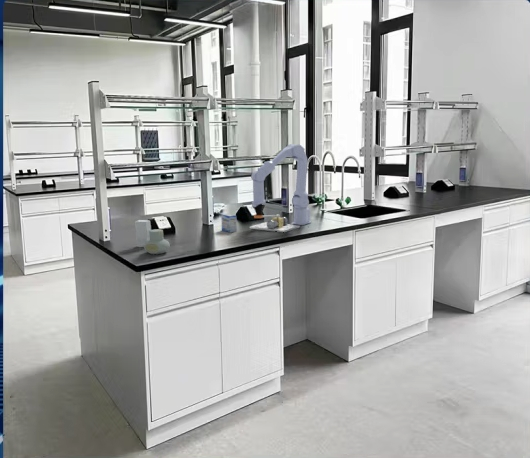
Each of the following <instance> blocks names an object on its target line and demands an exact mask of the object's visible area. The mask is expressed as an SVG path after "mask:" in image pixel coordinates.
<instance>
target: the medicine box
mask: <svg viewBox="0 0 530 458" xmlns="http://www.w3.org/2000/svg"><path fill="white" fill-rule="evenodd" d="M220 215H221V216H220V217H221V230H222V232H223V231H224V232H228V233H236V232H238V231H237V230H238V226H237V225H238V223H237V215H236V214H230V213H221V214H220Z"/></svg>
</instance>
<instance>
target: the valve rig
mask: <svg viewBox="0 0 530 458" xmlns="http://www.w3.org/2000/svg"><path fill="white" fill-rule="evenodd" d="M300 227H301V225H298V224H291V223H290V224H289V220H288V218H287V217H286V216H282V217H281V216H280V217H271V220H268V221H266V222H261V223H257V224H254V225H250V226H249V229H251V230H252V229H253V230H258V231H269V232H275V231H277V232H276V233H283V232H284V233H286V232H290V231H293V230H296V229H300Z"/></svg>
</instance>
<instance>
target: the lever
mask: <svg viewBox="0 0 530 458" xmlns="http://www.w3.org/2000/svg"><path fill="white" fill-rule="evenodd" d="M275 217H280V218H281V215H280V214H271V215H270V214H269V215H268V214H267V215H266V214H264V215H263V214H262V215H256V214H254V215H253V218H254V219H263V218H275Z"/></svg>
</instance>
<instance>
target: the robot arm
mask: <svg viewBox="0 0 530 458" xmlns="http://www.w3.org/2000/svg"><path fill="white" fill-rule="evenodd" d="M286 158H293V159H294V161H296V162H297V165H296V184H295V191H294V192H293V197H292V199H291V204H292V205H293V222H291V223H290V225H300V226H304V225H307V224H311V223H312V221H311V212H310V208H309V207H308V206H309V204H310V200H309V195H308V192H307V191H306V188H307V171H308V157H307V154H306V151H305V148H304V147H303V146H302V145H301V144H292V143H291V144H288V145H287V146H285V147H284V148H283V149H282V150H281V151H280V152H279V153H278V154H277V155H276V156H274V158H273V159H272V160H271V161H270V160H267V161H264V162H263V164H262V165H261V166H260V167H257V170H254V171H253V172H252V173H251V176H250V177H251V180H252V189H253V190H252V195H253V198H252V199H253V200H251V207H252V208H253V209H254V211H255V215H263V212H264V209H265V206H266V205H265V204H266V199H265V188H264V181H265V180H266V177H267V176H269V174H271V173H272V172H273V171H274V170H275V168H276V165H278V164H280V163H281V162H282V161H283V160H285V159H286Z"/></svg>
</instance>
